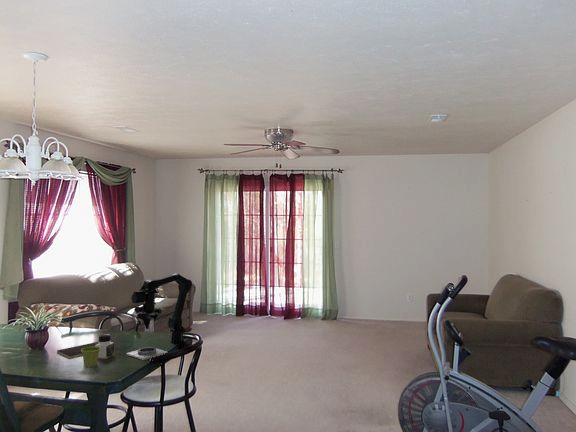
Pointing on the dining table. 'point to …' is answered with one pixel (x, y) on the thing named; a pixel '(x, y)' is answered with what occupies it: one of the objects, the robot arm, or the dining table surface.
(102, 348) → the medicine bottle
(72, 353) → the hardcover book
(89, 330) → the dining table surface
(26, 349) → the dining table surface
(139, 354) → the plate
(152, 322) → the duct coupling
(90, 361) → the plant pot
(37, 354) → the dining table surface
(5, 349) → the dining table surface
